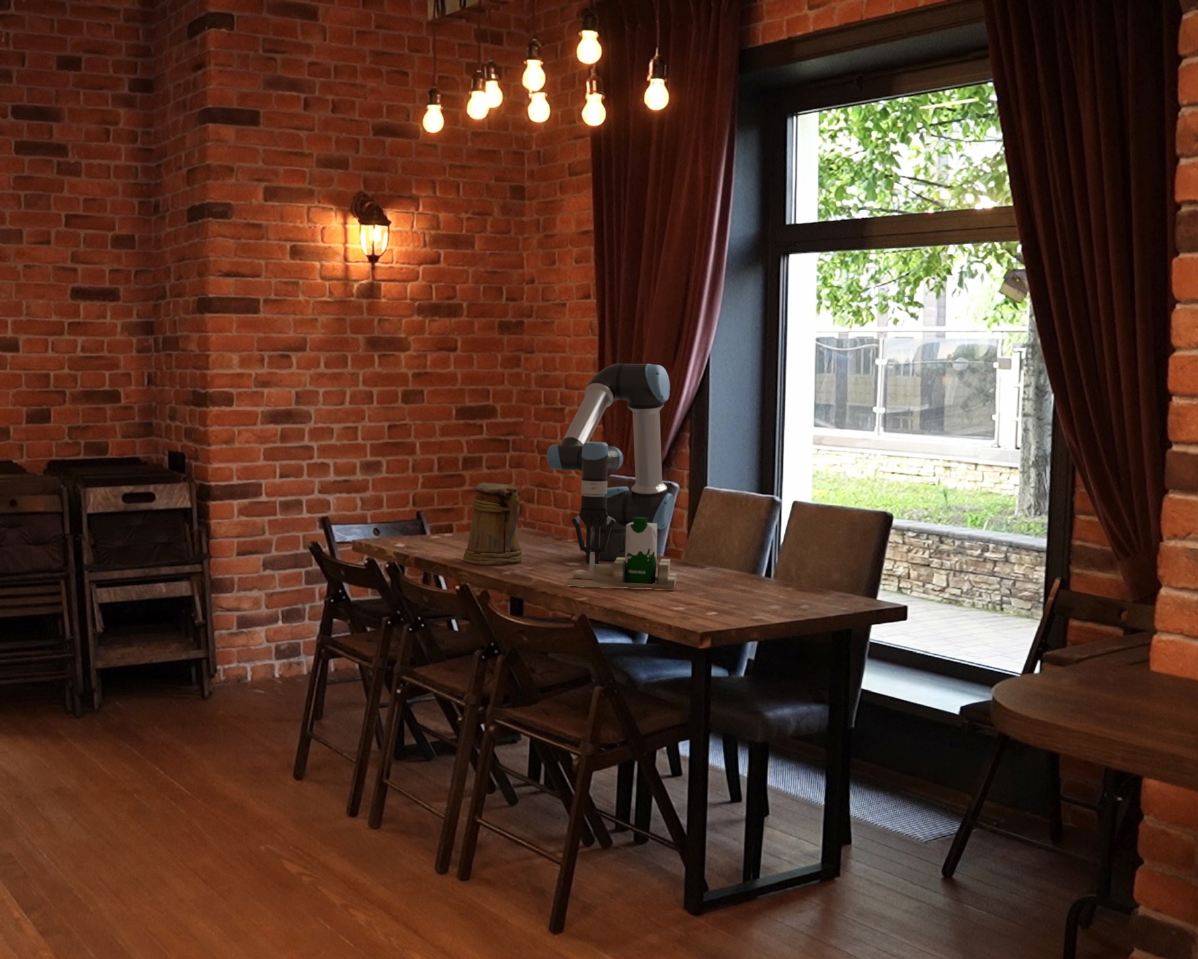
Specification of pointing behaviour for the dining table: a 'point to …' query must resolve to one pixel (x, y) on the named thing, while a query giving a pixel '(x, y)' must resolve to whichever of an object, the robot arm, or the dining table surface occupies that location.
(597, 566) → the sliding jaw
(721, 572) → the dining table surface
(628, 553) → the soya milk
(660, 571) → the vise bed
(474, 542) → the tankard
